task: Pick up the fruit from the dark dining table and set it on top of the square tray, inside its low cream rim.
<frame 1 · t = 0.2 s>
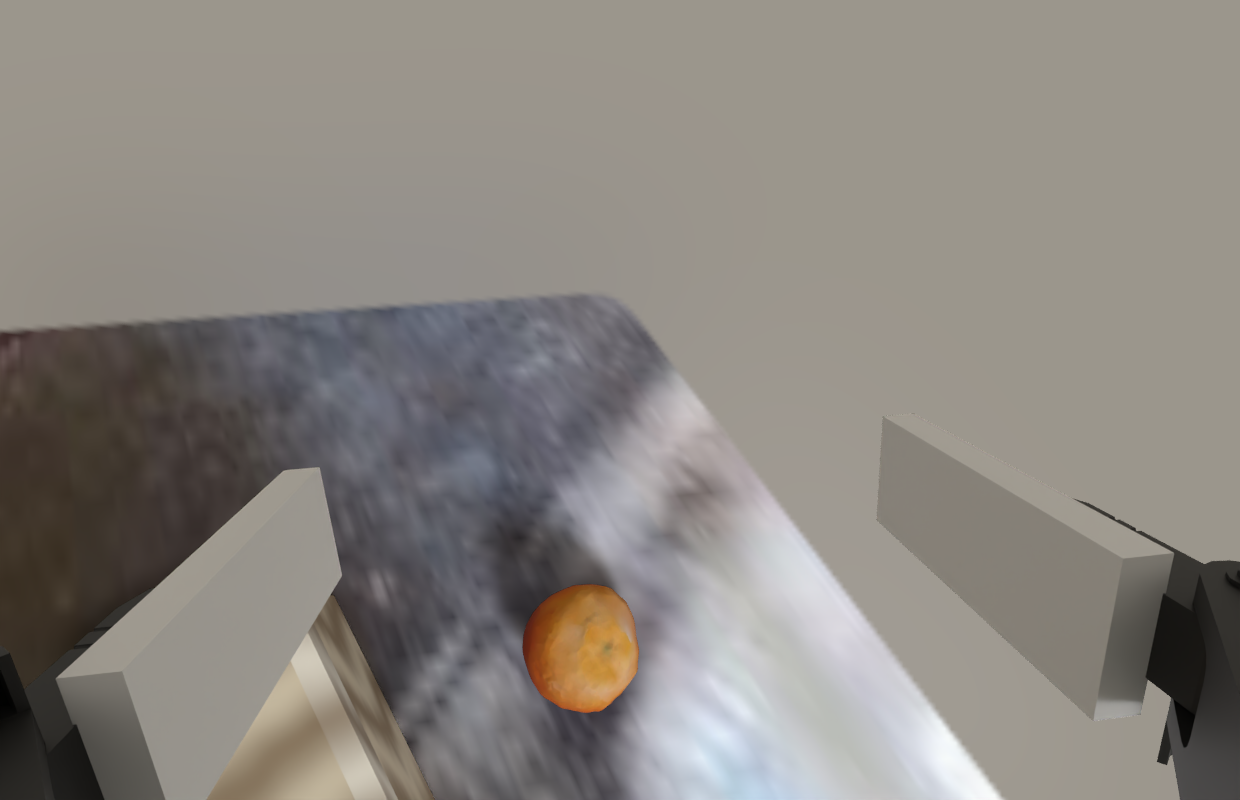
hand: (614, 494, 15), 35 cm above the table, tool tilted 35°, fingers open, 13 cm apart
square tray: (269, 779, 42), on the table
fruit: (581, 641, 46), on the table
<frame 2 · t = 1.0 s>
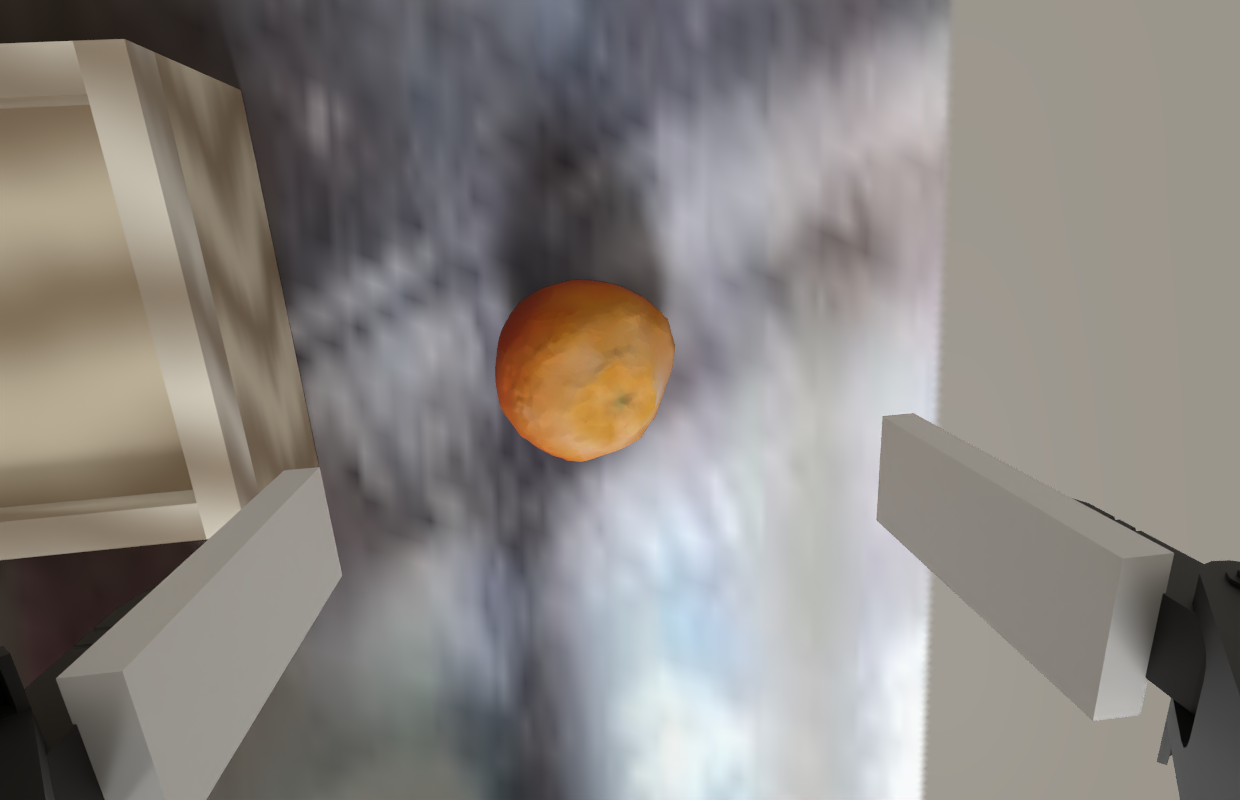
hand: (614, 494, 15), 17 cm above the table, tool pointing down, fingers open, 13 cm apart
square tray: (86, 306, 28), on the table
fruit: (581, 352, 31), on the table
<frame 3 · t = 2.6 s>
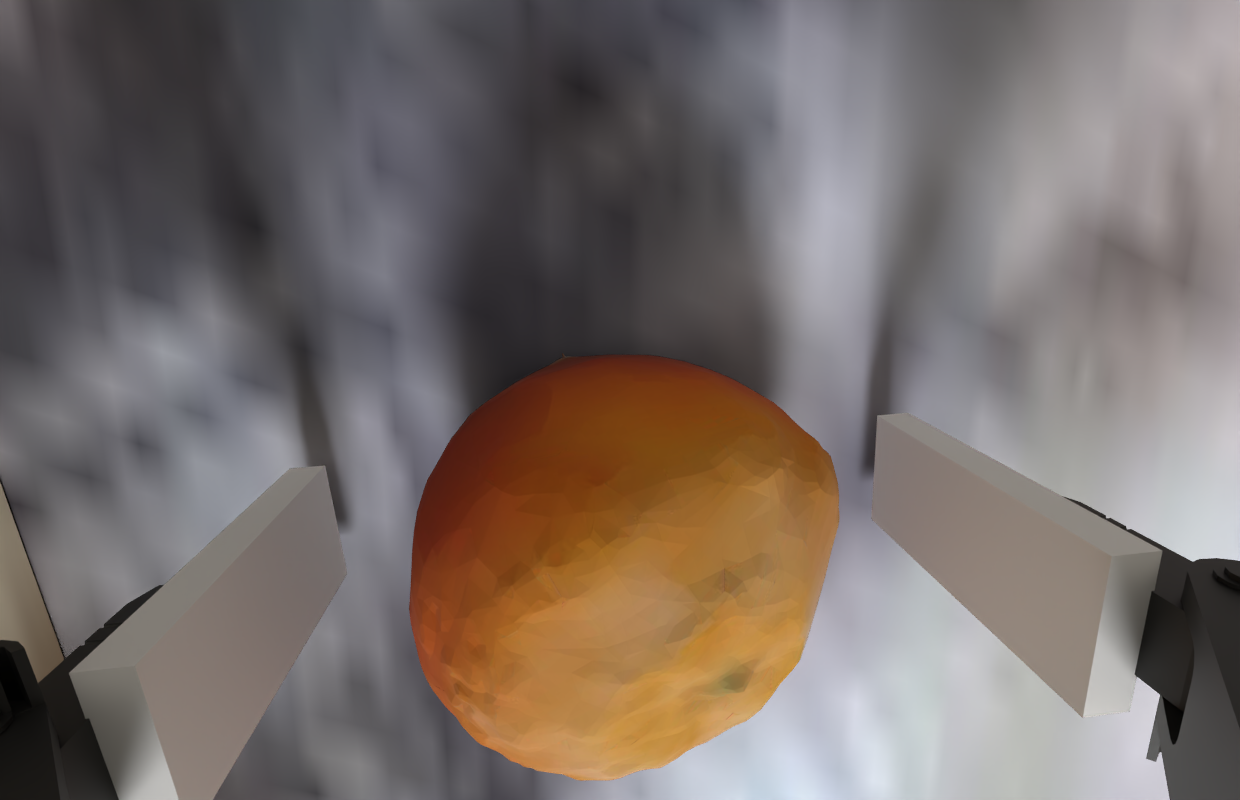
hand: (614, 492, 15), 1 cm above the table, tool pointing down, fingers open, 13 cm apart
fruit: (609, 480, 16), on the table
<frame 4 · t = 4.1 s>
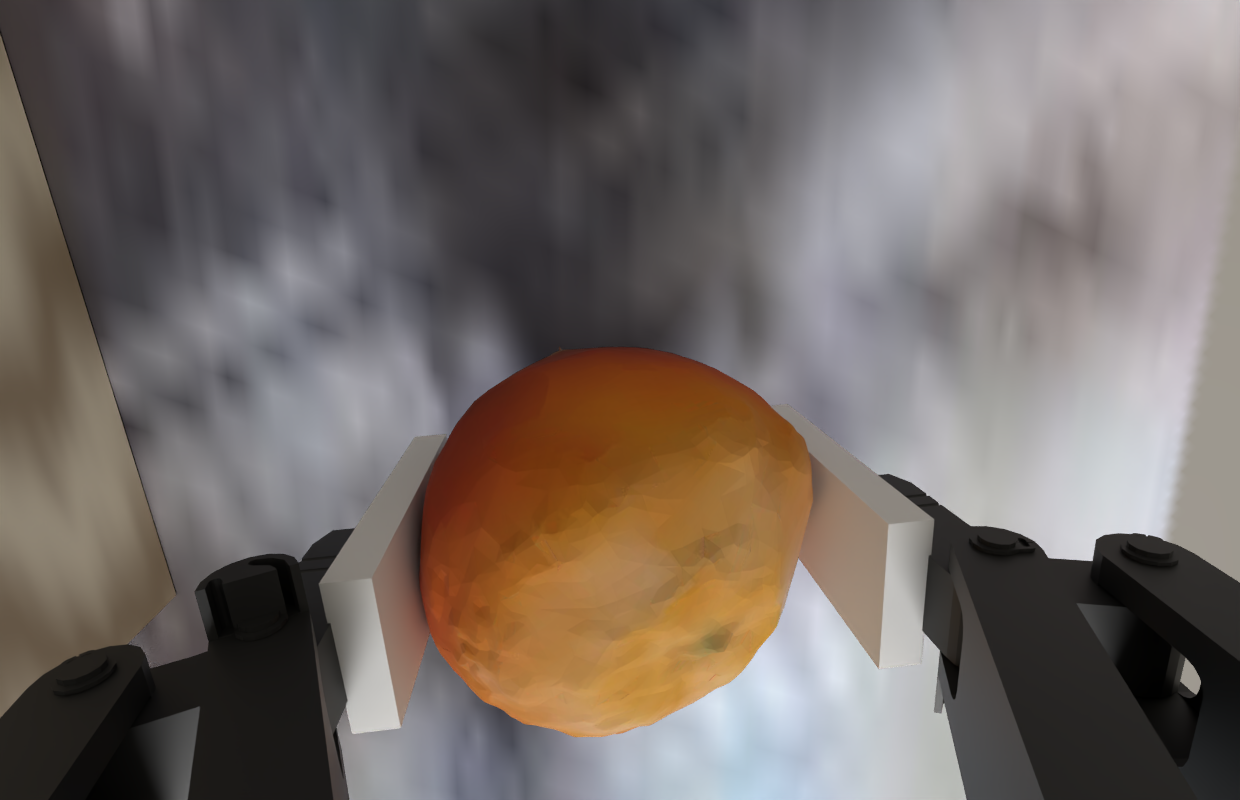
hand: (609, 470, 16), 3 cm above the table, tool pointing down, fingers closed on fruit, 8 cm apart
fruit: (603, 466, 17), point 2 cm above the table, touching gripper
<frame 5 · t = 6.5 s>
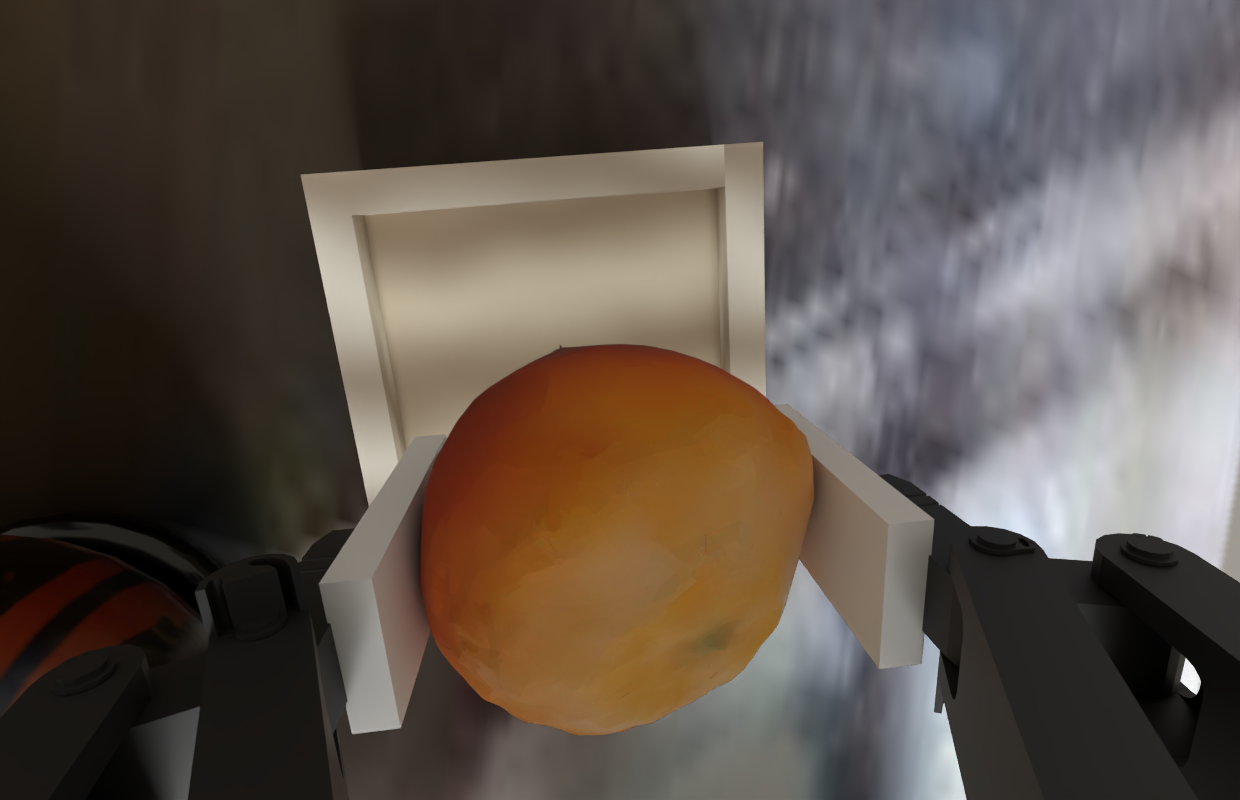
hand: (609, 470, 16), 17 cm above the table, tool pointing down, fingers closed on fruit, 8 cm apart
square tray: (560, 346, 33), on the table
amphora vase: (119, 635, 35), on the table
fruit: (604, 465, 17), point 17 cm above the table, touching gripper
when the fingers open (7 cm above the table, at t = 8.9 s): fruit drops 1 cm, resting on square tray.
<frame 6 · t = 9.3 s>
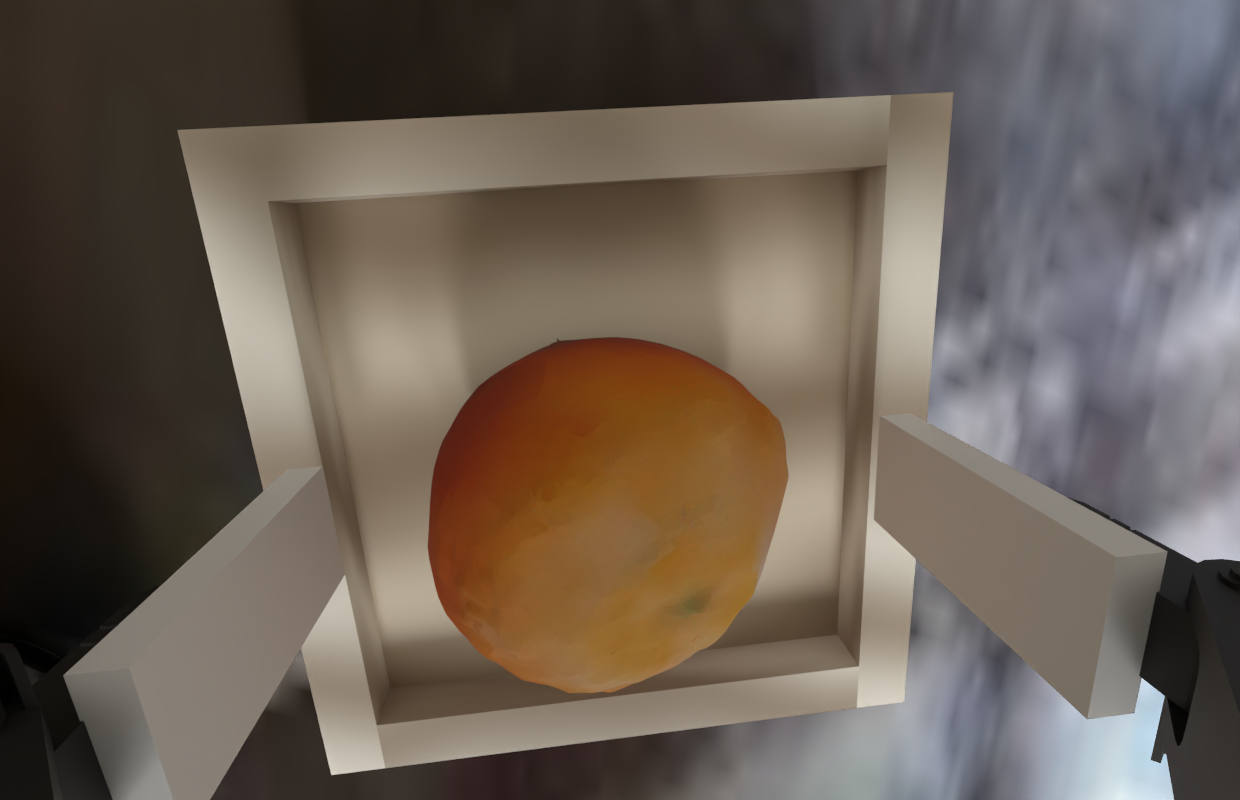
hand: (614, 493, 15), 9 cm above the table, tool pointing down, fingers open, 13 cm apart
square tray: (592, 393, 23), on the table
fruit: (598, 451, 18), point 6 cm above the table, touching square tray
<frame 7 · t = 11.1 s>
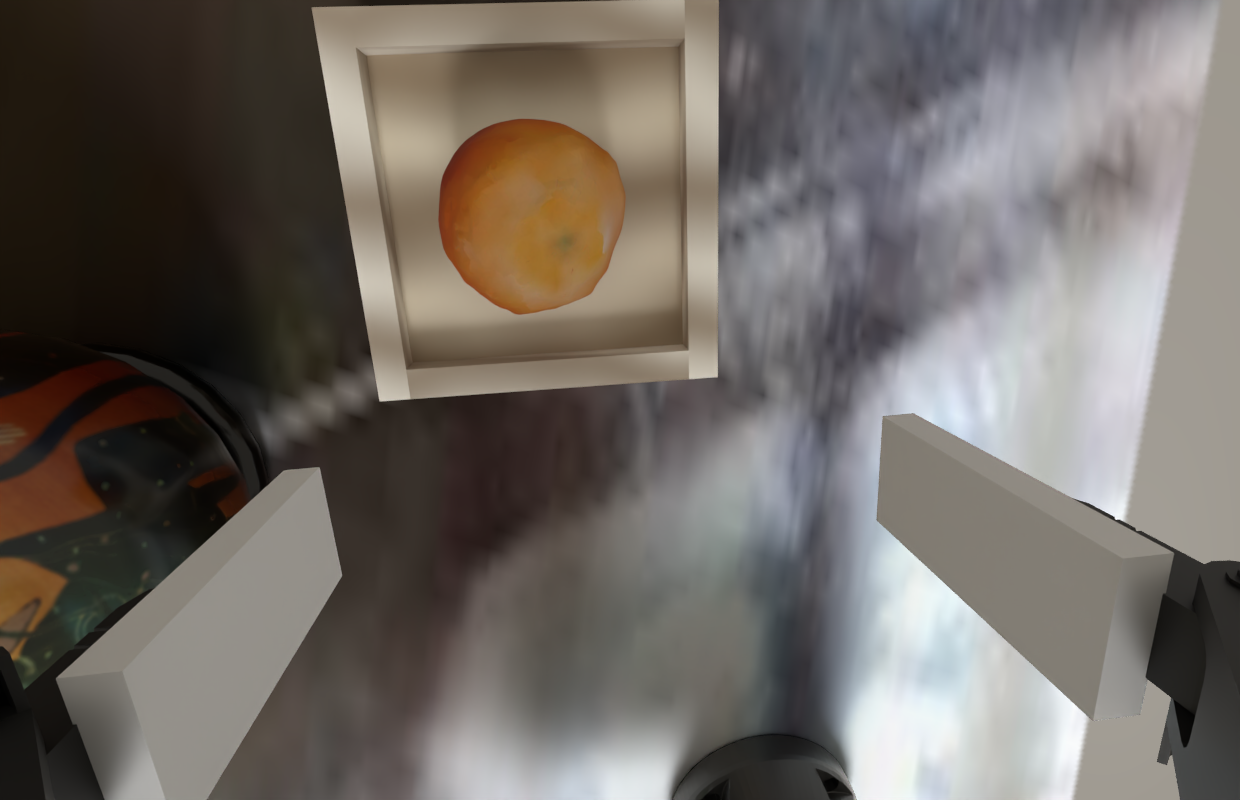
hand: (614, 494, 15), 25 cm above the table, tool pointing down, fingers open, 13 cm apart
square tray: (541, 210, 36), on the table
amphora vase: (136, 468, 38), on the table
fruit: (535, 215, 31), point 6 cm above the table, touching square tray
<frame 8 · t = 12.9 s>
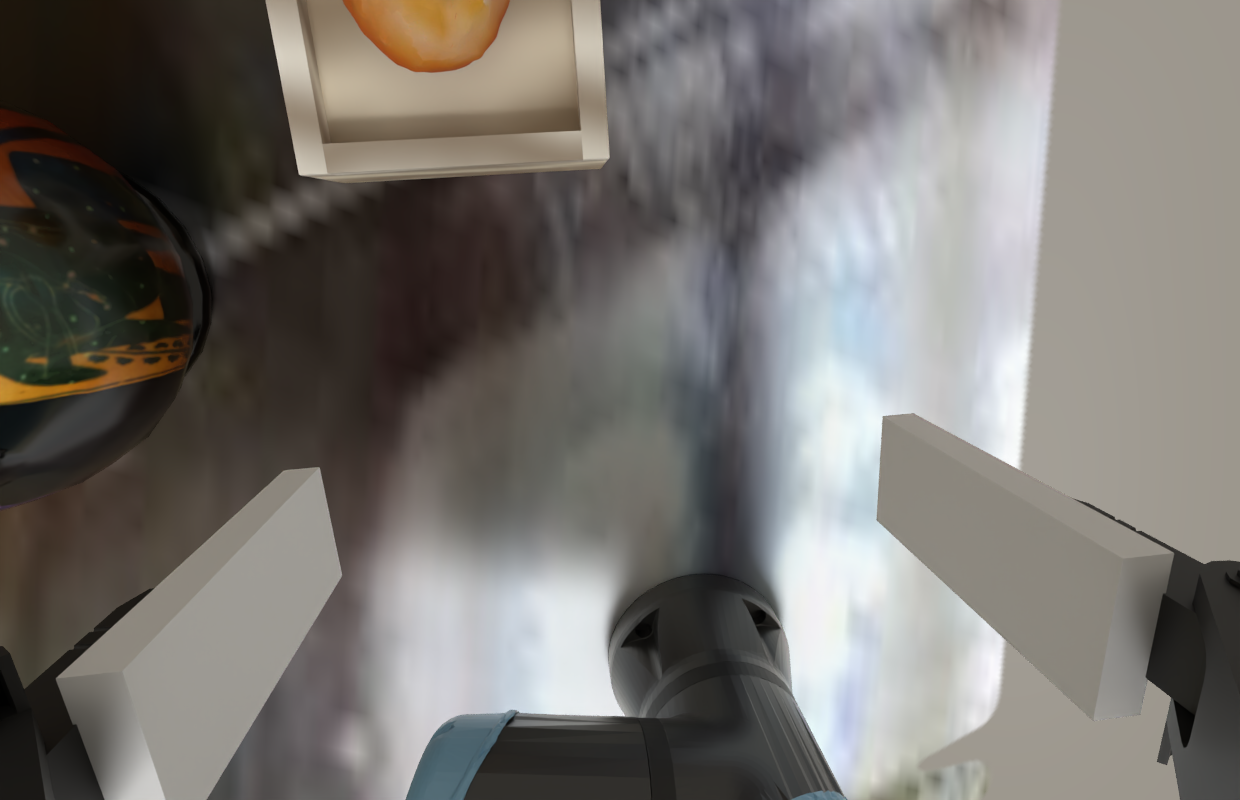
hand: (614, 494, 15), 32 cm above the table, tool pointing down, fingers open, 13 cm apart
square tray: (457, 33, 39), on the table
amphora vase: (90, 285, 42), on the table
fruit: (438, 5, 34), point 6 cm above the table, touching square tray
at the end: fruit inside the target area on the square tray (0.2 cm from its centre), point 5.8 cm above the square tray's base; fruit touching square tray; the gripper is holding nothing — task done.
